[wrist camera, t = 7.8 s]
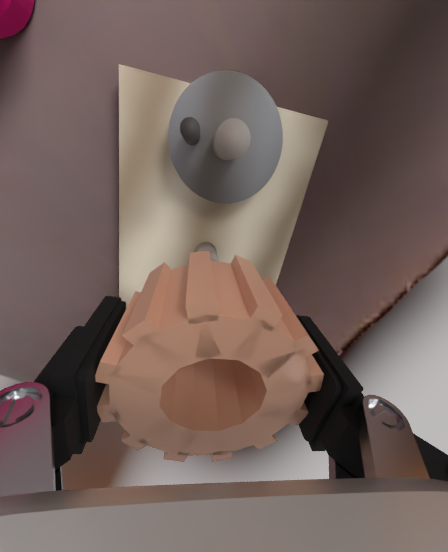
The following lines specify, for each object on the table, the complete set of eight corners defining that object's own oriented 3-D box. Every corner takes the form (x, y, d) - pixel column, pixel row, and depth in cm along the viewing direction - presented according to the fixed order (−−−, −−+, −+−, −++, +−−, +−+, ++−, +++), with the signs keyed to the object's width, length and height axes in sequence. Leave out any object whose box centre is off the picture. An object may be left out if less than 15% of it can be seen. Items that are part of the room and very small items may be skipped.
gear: (302, 264, 10) (359, 317, 7) (260, 380, 13) (284, 460, 10) (131, 239, 9) (87, 287, 5) (128, 373, 12) (98, 463, 8)
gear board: (321, 114, 17) (384, 89, 11) (249, 349, 27) (263, 400, 21) (126, 61, 15) (79, -6, 9) (123, 339, 24) (100, 394, 19)
